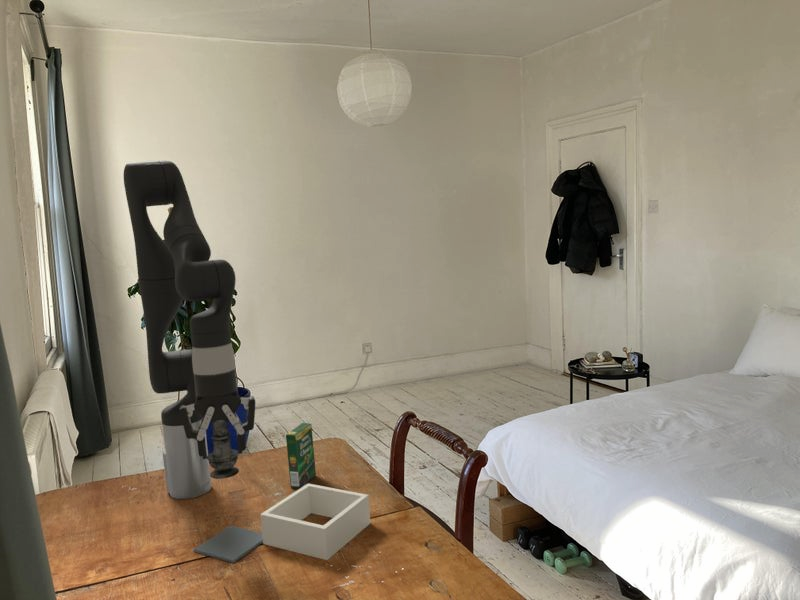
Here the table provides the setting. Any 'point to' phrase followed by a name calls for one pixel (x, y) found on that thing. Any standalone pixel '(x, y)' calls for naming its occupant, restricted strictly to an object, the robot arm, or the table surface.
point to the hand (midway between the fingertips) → (223, 454)
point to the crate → (312, 538)
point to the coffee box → (300, 455)
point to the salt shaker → (222, 452)
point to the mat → (231, 544)
